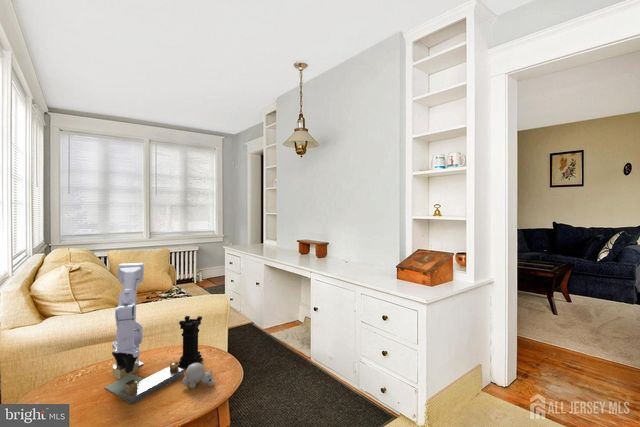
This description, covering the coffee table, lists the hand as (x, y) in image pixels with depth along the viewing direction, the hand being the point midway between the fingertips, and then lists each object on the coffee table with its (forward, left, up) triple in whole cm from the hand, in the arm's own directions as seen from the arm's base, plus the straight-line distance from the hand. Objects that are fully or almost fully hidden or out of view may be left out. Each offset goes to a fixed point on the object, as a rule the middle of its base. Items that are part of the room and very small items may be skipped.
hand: (125, 370), depth 128 cm
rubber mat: (0, 0, -6) cm, 6 cm away
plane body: (+10, +5, -6) cm, 13 cm away
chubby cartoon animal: (+24, +14, -6) cm, 29 cm away
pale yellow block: (0, 0, -1) cm, 1 cm away
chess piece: (+8, +24, -6) cm, 26 cm away
